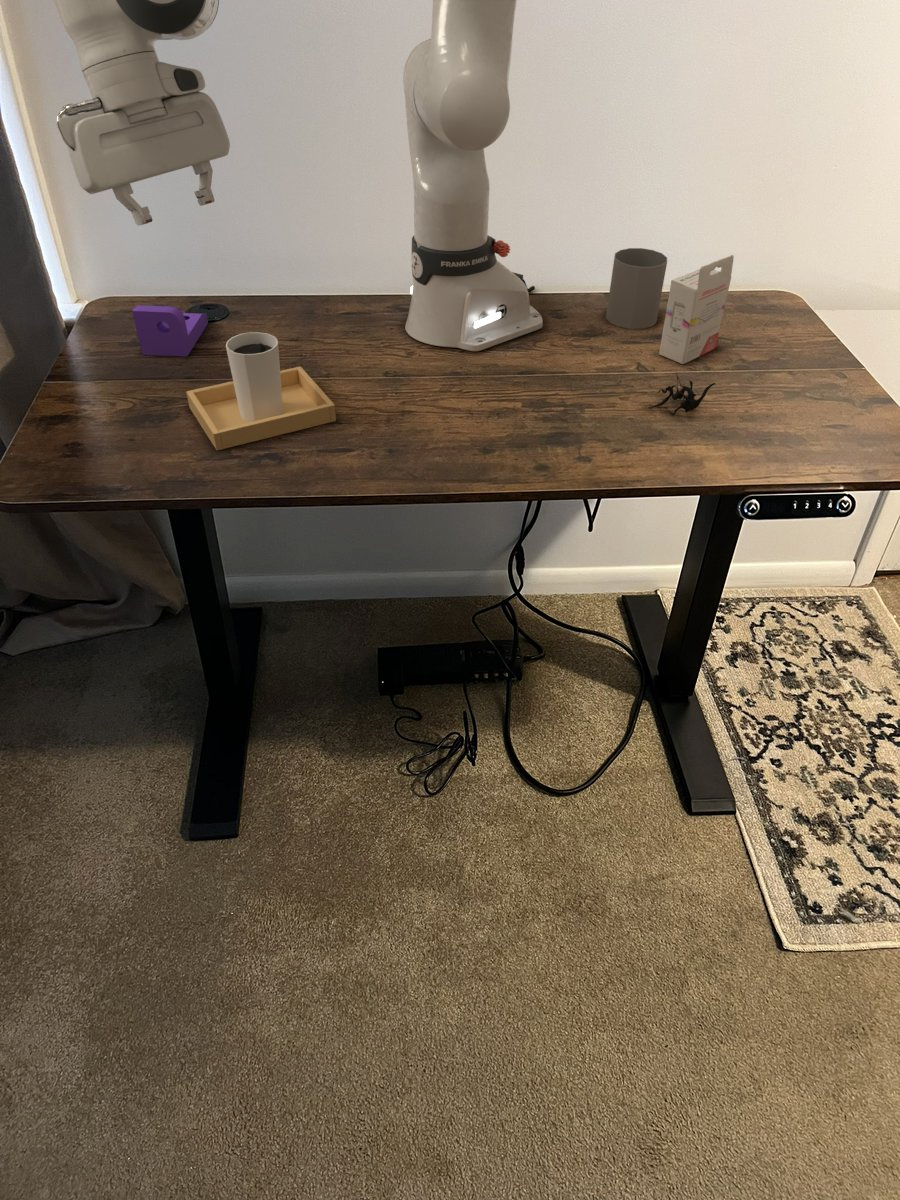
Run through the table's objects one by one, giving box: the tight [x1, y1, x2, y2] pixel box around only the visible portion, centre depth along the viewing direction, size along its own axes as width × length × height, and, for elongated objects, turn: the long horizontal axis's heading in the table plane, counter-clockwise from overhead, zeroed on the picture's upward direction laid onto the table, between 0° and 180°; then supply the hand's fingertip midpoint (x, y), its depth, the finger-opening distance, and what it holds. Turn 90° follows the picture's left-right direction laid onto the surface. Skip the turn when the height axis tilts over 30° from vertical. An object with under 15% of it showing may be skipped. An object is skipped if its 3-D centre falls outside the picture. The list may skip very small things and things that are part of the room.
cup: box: [605, 247, 668, 330], centre depth 140 cm, size 8×8×10 cm
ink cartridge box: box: [658, 254, 735, 365], centre depth 129 cm, size 9×5×15 cm, turn 131°
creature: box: [648, 372, 717, 416], centre depth 119 cm, size 8×5×8 cm
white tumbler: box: [225, 331, 283, 422], centre depth 115 cm, size 7×7×10 cm
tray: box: [185, 366, 337, 451], centre depth 117 cm, size 17×13×2 cm
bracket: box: [131, 304, 209, 357], centre depth 133 cm, size 12×7×7 cm, turn 177°
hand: (177, 213), depth 109 cm, fingers open, 8 cm apart
